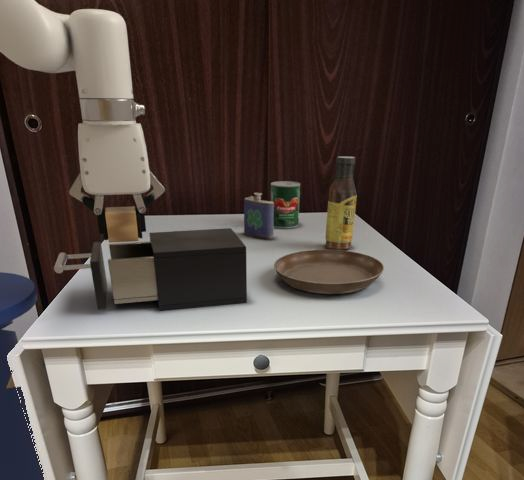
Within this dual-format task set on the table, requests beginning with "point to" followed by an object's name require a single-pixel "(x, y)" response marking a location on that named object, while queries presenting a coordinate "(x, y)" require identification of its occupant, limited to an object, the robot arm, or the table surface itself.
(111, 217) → the block
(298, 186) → the canned tomato
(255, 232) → the flask
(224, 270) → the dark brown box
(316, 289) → the plant saucer
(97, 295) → the drawer
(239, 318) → the table surface
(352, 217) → the sauce bottle
